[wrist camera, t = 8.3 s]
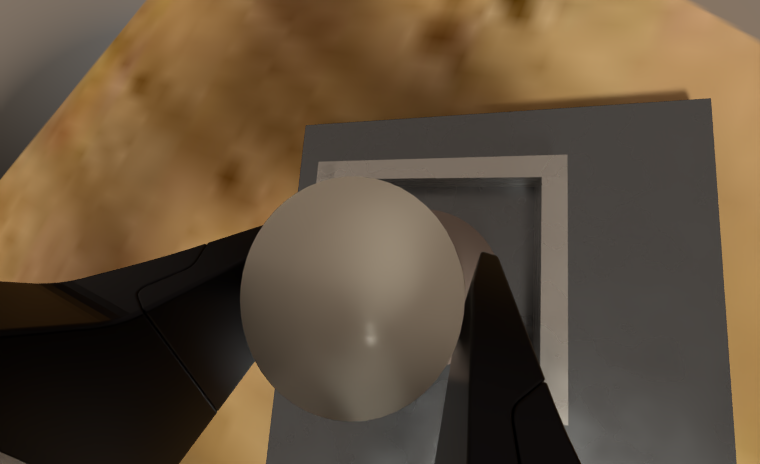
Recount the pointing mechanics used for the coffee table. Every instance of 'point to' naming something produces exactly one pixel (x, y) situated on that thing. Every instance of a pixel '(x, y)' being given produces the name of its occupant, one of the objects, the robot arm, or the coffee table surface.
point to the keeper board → (563, 273)
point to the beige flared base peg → (356, 296)
